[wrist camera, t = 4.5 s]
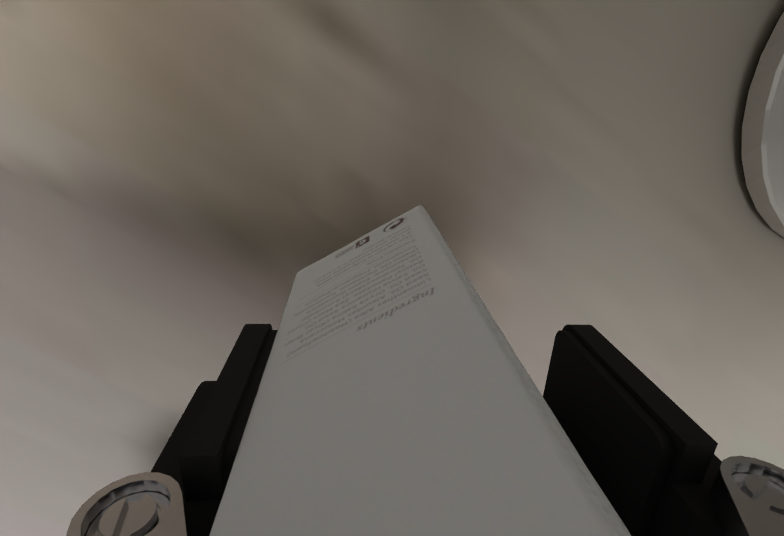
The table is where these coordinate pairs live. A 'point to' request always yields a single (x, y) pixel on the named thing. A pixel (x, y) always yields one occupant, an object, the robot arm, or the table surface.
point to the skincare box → (402, 411)
